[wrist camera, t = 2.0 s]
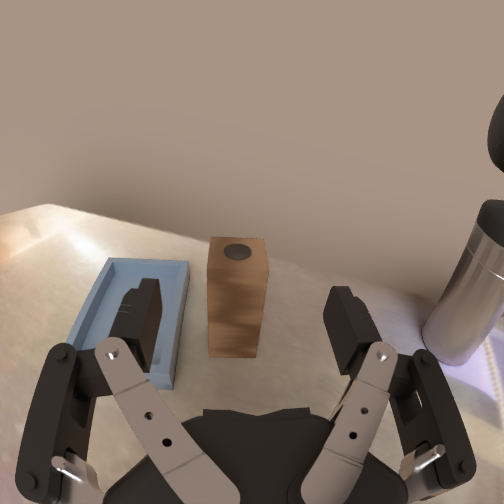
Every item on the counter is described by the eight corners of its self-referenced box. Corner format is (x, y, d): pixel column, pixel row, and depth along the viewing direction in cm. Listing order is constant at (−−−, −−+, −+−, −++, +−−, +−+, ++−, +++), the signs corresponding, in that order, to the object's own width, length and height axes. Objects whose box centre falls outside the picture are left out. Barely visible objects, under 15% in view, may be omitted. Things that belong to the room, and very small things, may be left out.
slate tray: (189, 278, 40) (188, 261, 38) (172, 389, 25) (168, 374, 23) (112, 273, 39) (108, 257, 37) (69, 373, 24) (59, 357, 22)
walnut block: (252, 324, 34) (263, 237, 27) (255, 357, 30) (269, 268, 23) (211, 323, 33) (210, 235, 27) (209, 356, 29) (206, 266, 23)
